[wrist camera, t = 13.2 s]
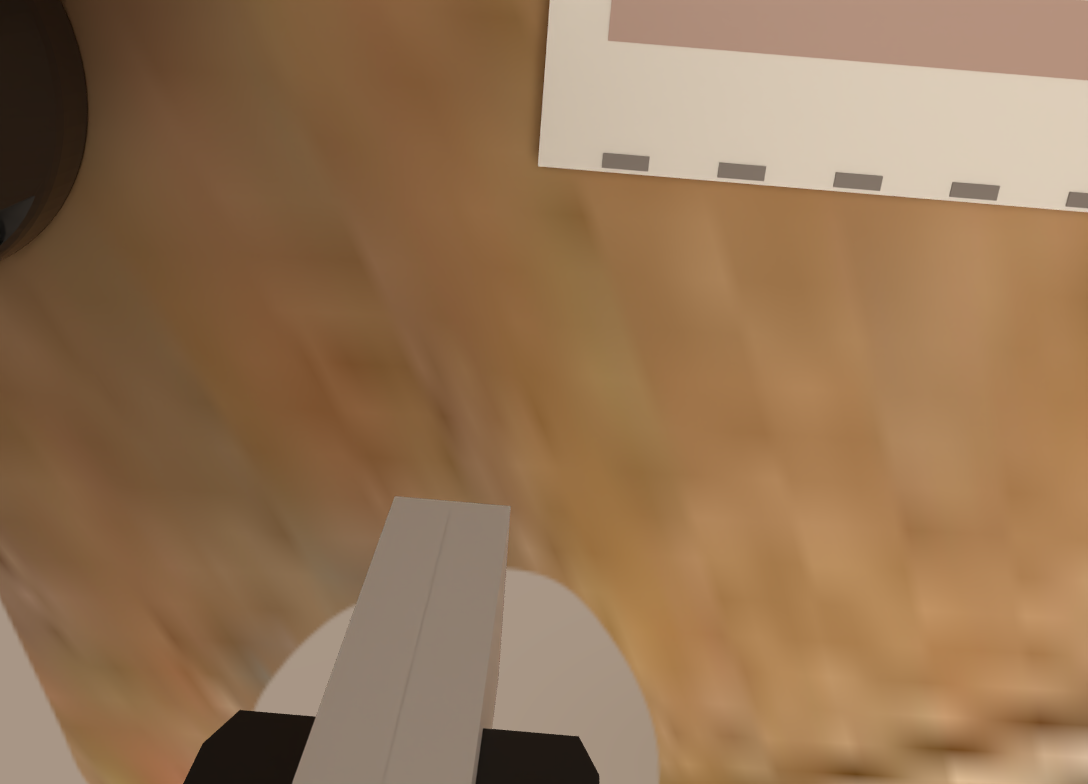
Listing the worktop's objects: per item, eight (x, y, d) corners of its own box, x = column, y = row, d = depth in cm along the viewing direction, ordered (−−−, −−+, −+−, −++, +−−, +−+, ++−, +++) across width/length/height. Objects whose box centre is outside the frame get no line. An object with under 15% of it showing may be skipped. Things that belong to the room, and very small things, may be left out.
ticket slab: (540, 155, 38) (537, 166, 36) (558, -86, 34) (556, -89, 32) (1145, 206, 37) (1175, 220, 35) (1219, -32, 34) (1256, -31, 32)
